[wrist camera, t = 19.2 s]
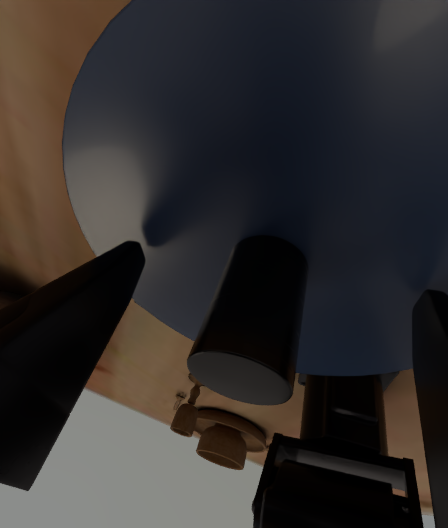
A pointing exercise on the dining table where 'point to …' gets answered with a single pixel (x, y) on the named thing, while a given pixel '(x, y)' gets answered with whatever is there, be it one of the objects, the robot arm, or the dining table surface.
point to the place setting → (217, 432)
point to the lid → (270, 178)
